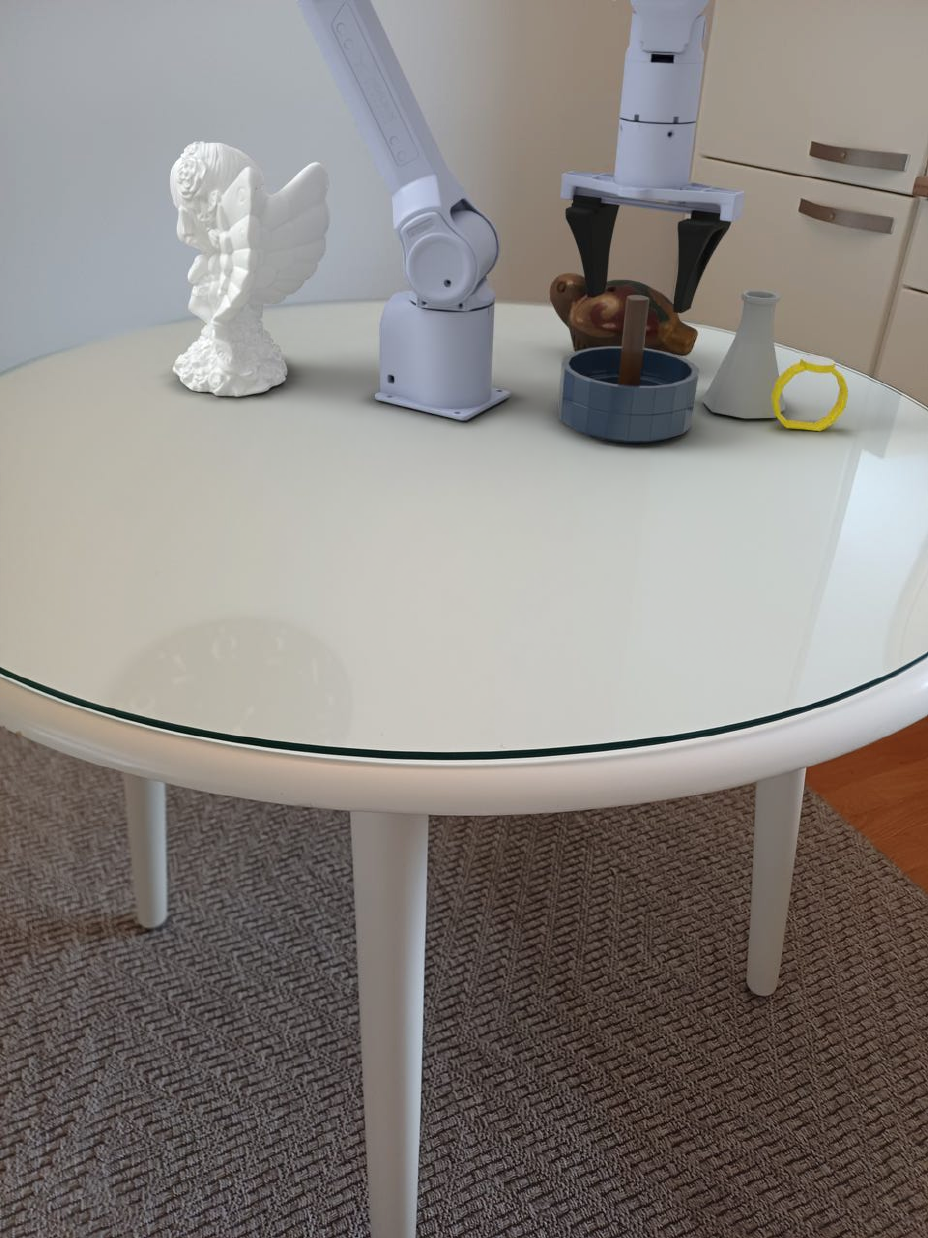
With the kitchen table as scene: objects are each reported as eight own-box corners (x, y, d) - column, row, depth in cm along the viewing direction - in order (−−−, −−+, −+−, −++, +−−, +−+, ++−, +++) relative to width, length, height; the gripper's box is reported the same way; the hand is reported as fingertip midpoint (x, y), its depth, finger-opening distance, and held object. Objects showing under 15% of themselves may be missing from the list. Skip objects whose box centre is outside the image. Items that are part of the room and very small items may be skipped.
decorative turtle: (553, 338, 114) (564, 259, 110) (696, 366, 110) (713, 286, 106) (527, 359, 105) (538, 274, 102) (680, 390, 102) (698, 304, 98)
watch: (771, 432, 91) (783, 363, 88) (764, 421, 94) (776, 353, 91) (842, 435, 91) (857, 365, 88) (833, 423, 94) (847, 355, 91)
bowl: (534, 428, 91) (538, 370, 88) (593, 393, 99) (598, 338, 96) (659, 458, 86) (666, 397, 83) (710, 418, 94) (718, 361, 91)
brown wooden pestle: (596, 418, 92) (607, 298, 86) (614, 406, 94) (626, 289, 89) (636, 427, 90) (649, 305, 85) (653, 415, 93) (667, 296, 88)
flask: (786, 425, 93) (808, 307, 88) (701, 417, 94) (717, 300, 89) (782, 398, 99) (802, 286, 94) (702, 391, 100) (717, 280, 95)
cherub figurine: (233, 347, 108) (215, 127, 98) (342, 366, 104) (335, 139, 94) (148, 384, 98) (118, 143, 88) (265, 407, 93) (248, 156, 83)
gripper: (547, 115, 82) (536, 297, 89) (731, 132, 75) (703, 328, 82) (589, 108, 87) (575, 281, 94) (764, 124, 80) (736, 309, 87)
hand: (638, 302), depth 88 cm, fingers open, 7 cm apart
